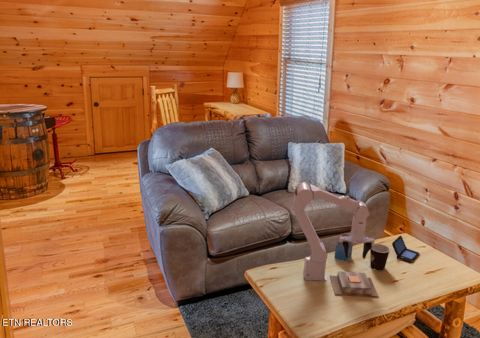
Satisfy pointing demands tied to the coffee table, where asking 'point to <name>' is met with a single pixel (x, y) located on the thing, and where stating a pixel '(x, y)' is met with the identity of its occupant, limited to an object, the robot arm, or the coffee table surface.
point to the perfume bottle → (341, 253)
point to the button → (353, 279)
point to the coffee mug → (378, 256)
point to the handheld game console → (404, 251)
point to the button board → (338, 292)
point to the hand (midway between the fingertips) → (354, 257)
